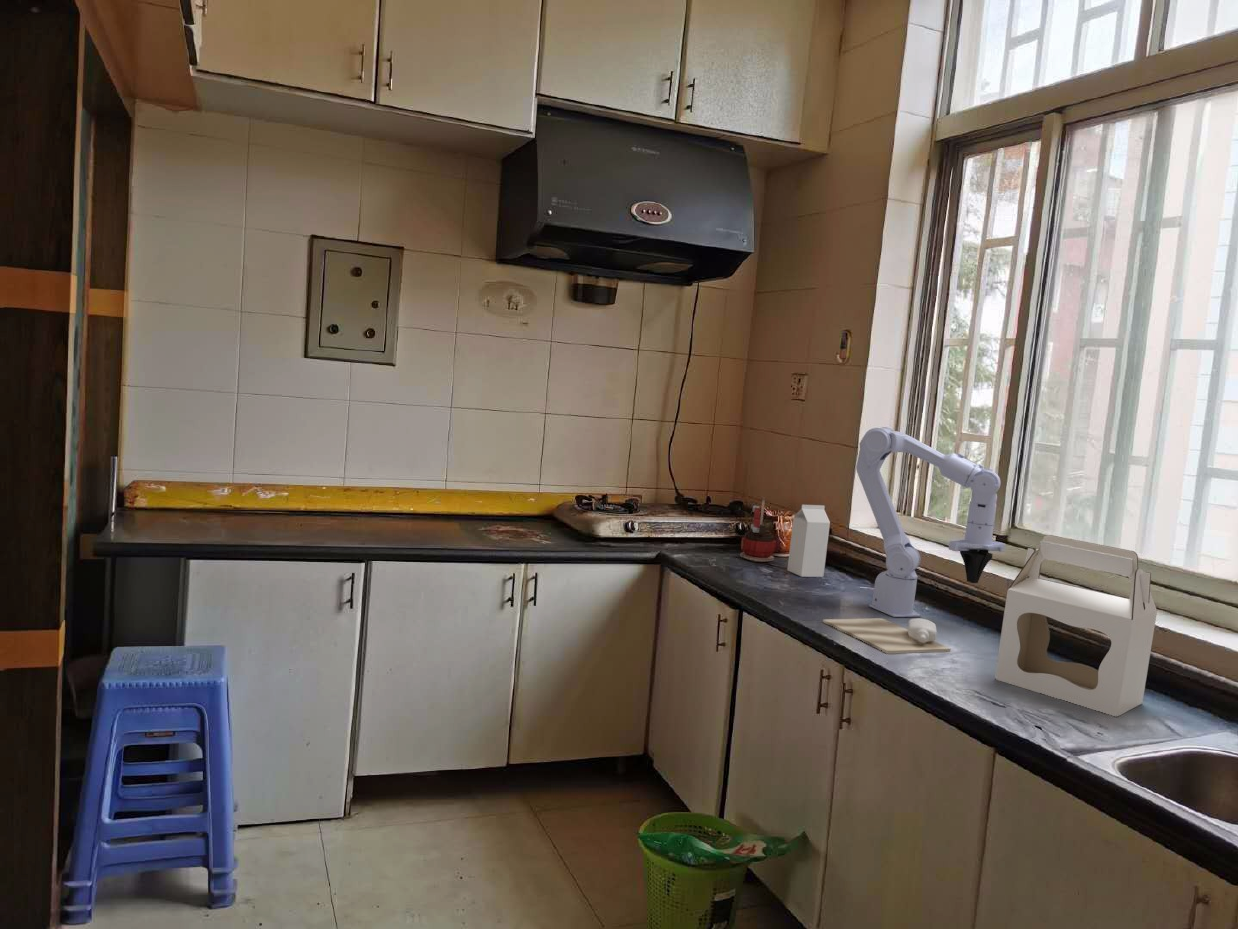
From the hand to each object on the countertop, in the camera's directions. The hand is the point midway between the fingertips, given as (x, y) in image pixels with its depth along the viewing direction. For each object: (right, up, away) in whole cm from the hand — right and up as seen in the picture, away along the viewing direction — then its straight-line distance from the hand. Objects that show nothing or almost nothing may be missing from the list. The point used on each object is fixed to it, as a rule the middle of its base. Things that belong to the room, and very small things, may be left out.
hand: (972, 582), depth 218 cm
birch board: (-24, -10, -14) cm, 29 cm away
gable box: (+3, -15, -40) cm, 43 cm away
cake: (-41, -1, +56) cm, 69 cm away
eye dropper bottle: (-15, -8, -11) cm, 20 cm away
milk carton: (-30, -3, +43) cm, 52 cm away
